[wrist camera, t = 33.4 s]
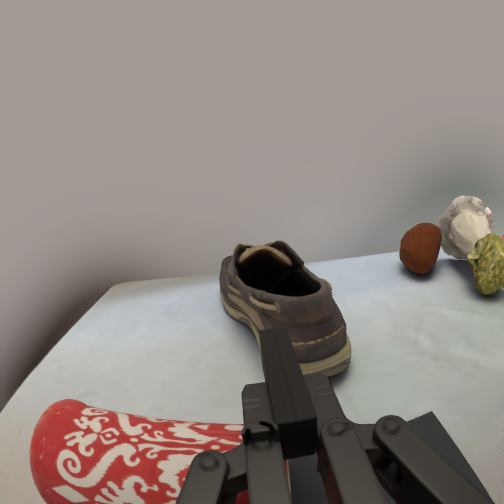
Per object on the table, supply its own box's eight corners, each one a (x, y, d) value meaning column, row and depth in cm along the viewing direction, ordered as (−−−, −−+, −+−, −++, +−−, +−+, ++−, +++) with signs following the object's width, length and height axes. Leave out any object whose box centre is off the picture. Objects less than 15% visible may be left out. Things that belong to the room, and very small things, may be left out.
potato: (431, 289, 40) (391, 282, 47) (448, 250, 46) (413, 247, 52) (427, 250, 37) (383, 246, 44) (444, 214, 43) (407, 213, 49)
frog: (426, 245, 49) (444, 303, 34) (450, 185, 42) (485, 224, 27) (472, 263, 46) (498, 321, 31) (497, 208, 39) (539, 253, 24)
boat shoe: (267, 275, 52) (261, 216, 49) (384, 361, 26) (395, 262, 23) (208, 290, 49) (198, 228, 46) (290, 407, 22) (284, 299, 19)
